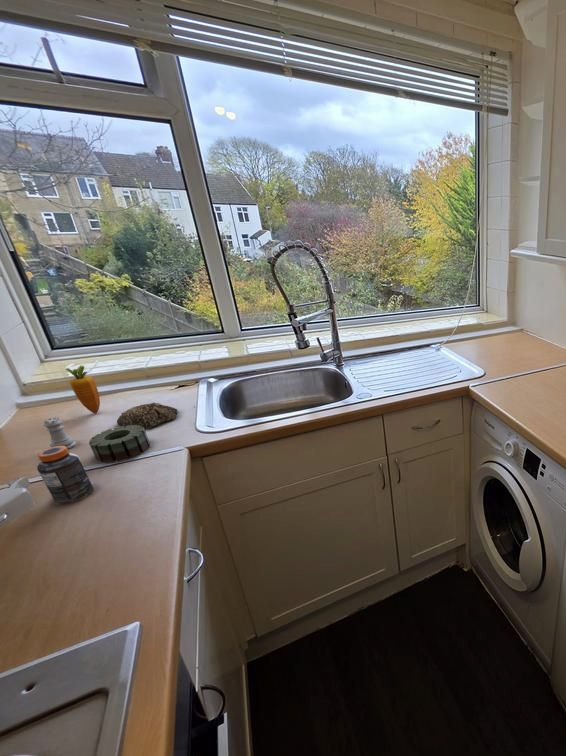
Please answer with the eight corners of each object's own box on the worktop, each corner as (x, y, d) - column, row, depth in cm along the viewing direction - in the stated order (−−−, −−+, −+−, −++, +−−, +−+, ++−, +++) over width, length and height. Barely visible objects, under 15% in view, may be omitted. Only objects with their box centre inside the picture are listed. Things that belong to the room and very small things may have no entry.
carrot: (79, 416, 118) (57, 368, 112) (97, 408, 122) (77, 362, 116) (93, 418, 117) (72, 369, 111) (111, 410, 122) (92, 363, 116)
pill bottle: (93, 483, 90) (73, 439, 86) (94, 495, 87) (73, 450, 82) (55, 494, 87) (31, 449, 82) (54, 508, 83) (29, 462, 78)
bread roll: (111, 426, 113) (104, 410, 111) (157, 407, 124) (151, 392, 122) (145, 433, 110) (138, 417, 108) (189, 413, 121) (184, 398, 119)
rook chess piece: (51, 447, 103) (37, 419, 100) (76, 440, 106) (63, 413, 103) (52, 454, 100) (37, 425, 97) (77, 447, 103) (64, 419, 100)
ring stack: (94, 467, 96) (86, 450, 94) (99, 448, 103) (92, 432, 101) (149, 453, 101) (142, 437, 99) (150, 437, 108) (144, 421, 107)
